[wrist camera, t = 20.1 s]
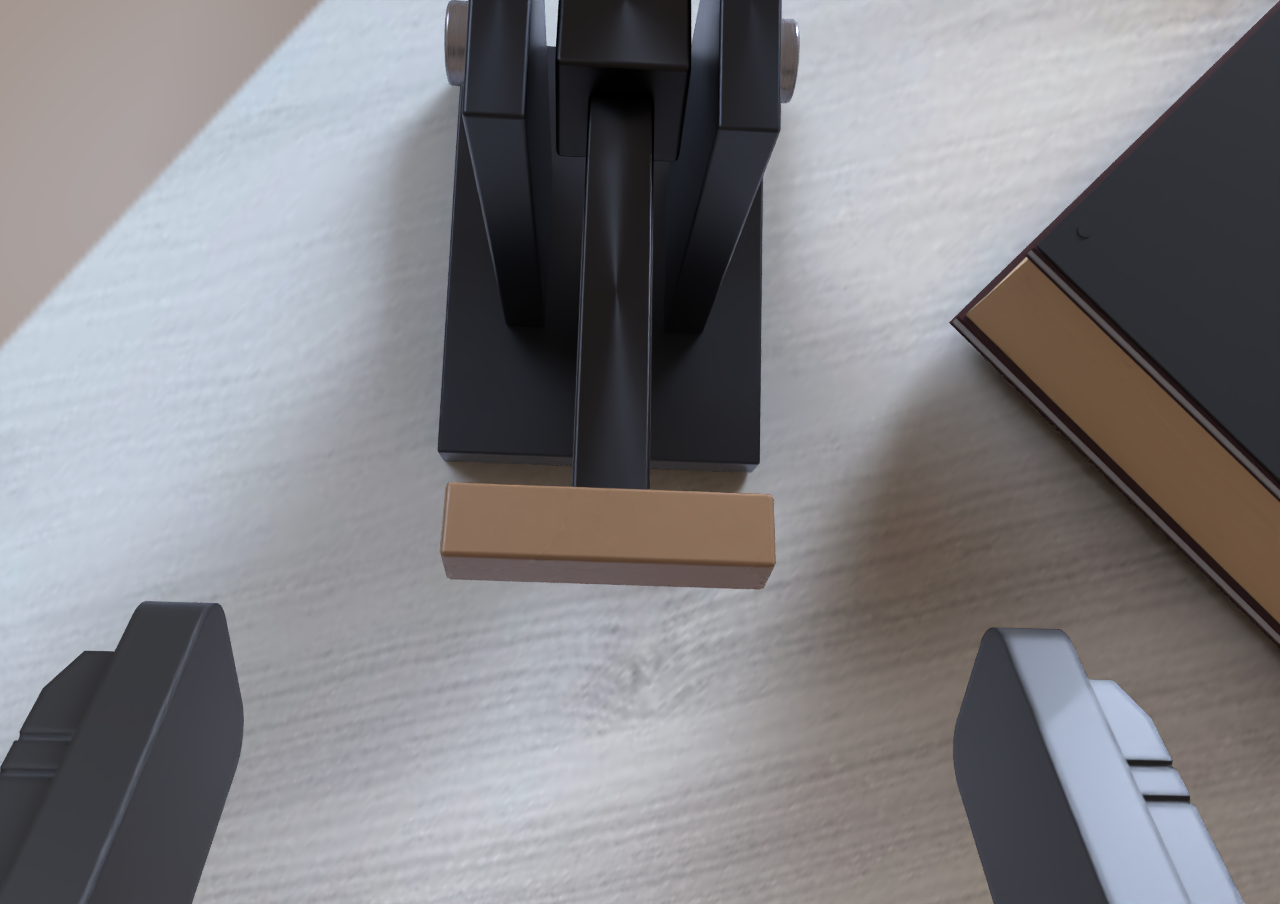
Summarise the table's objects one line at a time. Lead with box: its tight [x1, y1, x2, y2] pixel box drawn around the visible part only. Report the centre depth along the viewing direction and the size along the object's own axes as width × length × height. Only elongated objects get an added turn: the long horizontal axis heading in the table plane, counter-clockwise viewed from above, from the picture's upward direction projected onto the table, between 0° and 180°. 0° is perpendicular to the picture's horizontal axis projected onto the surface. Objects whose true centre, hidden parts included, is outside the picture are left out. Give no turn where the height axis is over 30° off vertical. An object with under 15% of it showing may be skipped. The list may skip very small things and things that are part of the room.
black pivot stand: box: [438, 0, 800, 472], centre depth 25 cm, size 11×8×13 cm
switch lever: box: [440, 0, 776, 589], centre depth 19 cm, size 11×5×2 cm, turn 178°
